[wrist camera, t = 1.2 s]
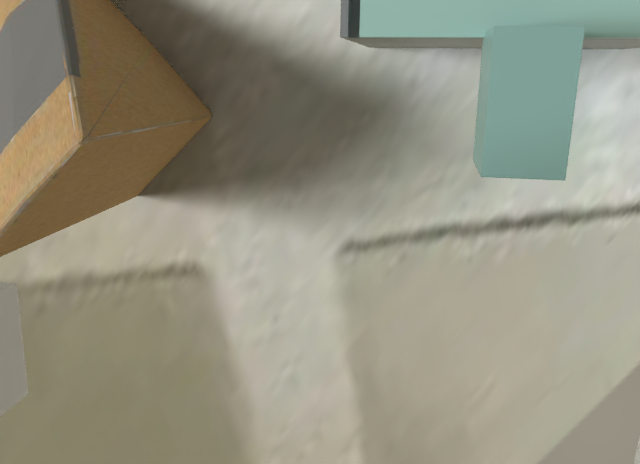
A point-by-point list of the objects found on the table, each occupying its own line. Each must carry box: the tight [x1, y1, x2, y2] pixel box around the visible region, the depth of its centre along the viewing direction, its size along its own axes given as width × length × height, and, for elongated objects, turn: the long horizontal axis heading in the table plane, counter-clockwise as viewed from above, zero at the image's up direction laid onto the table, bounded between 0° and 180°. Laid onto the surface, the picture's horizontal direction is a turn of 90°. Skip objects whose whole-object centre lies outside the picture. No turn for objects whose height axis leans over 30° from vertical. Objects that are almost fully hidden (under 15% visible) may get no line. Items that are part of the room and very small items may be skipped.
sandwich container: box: [0, 0, 212, 257], centre depth 31 cm, size 9×15×15 cm, turn 43°
